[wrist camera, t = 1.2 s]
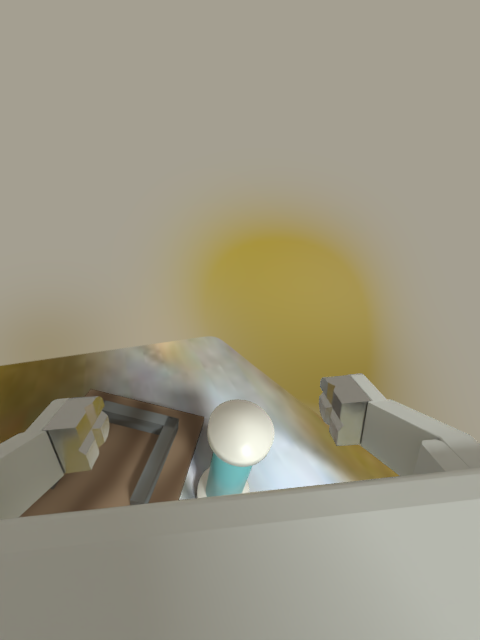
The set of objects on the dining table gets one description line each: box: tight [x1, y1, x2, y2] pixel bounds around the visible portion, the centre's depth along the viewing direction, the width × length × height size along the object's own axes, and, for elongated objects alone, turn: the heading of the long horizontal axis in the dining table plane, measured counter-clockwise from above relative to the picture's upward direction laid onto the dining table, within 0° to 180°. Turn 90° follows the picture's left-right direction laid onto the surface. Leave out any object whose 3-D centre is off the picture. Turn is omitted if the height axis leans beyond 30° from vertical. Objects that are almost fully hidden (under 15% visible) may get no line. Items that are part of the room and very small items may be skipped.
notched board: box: [20, 389, 204, 517], centre depth 32 cm, size 18×18×4 cm
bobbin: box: [197, 400, 274, 498], centre depth 29 cm, size 6×6×14 cm
